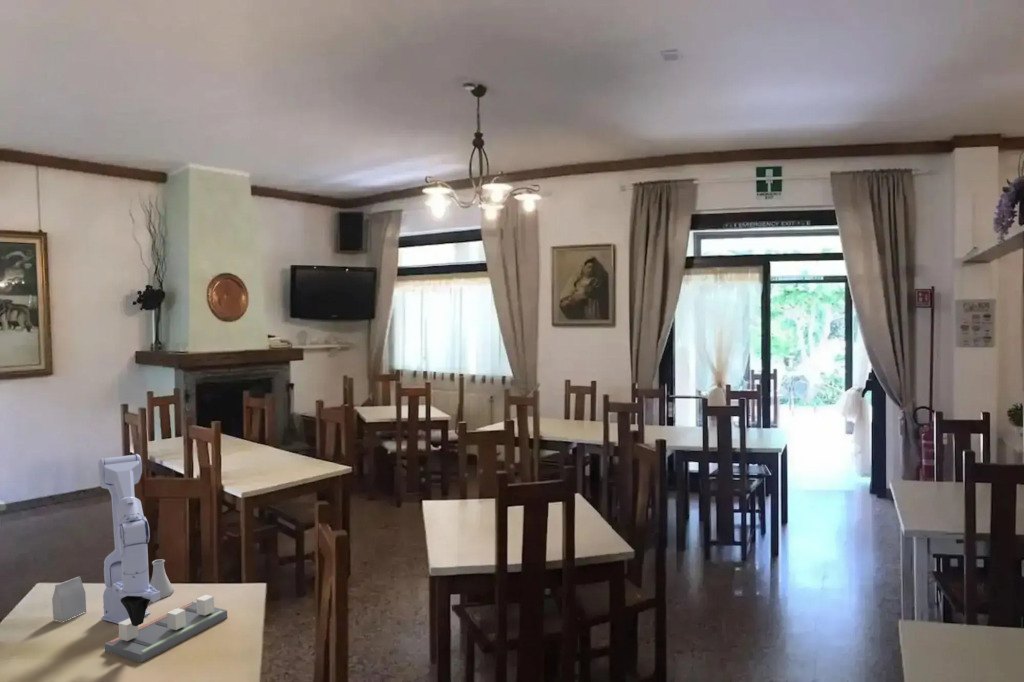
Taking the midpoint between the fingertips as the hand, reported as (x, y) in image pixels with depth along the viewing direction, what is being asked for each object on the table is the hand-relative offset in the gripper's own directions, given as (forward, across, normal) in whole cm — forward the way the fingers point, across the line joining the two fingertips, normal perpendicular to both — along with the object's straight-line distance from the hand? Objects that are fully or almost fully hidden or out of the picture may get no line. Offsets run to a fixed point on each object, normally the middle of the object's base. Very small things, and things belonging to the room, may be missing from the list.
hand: (137, 624), depth 176 cm
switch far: (+4, +3, +18) cm, 19 cm away
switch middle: (+4, +3, +9) cm, 10 cm away
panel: (+6, 0, +9) cm, 11 cm away
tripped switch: (+4, -3, 0) cm, 5 cm away
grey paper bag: (+7, -34, +5) cm, 35 cm away
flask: (+7, -24, +25) cm, 35 cm away
